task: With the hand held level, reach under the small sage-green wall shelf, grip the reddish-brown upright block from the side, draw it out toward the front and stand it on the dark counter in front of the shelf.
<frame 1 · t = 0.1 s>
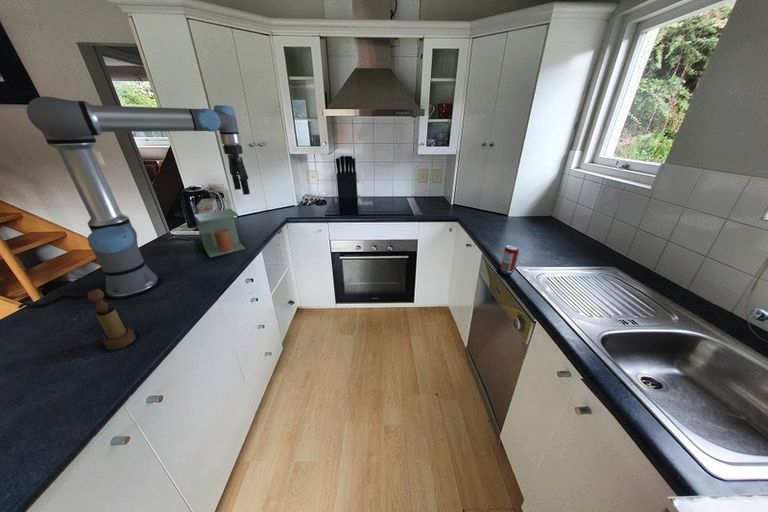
hand: (242, 191, 132), 28 cm above the worktop, tool pointing down, fingers open, 13 cm apart
coffeecake box: (215, 235, 155), on the worktop
reddish-brown upright block: (226, 249, 136), point 1 cm above the worktop, touching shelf
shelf: (225, 250, 137), on the worktop
soda can: (506, 271, 120), on the worktop
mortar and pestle: (121, 342, 80), on the worktop
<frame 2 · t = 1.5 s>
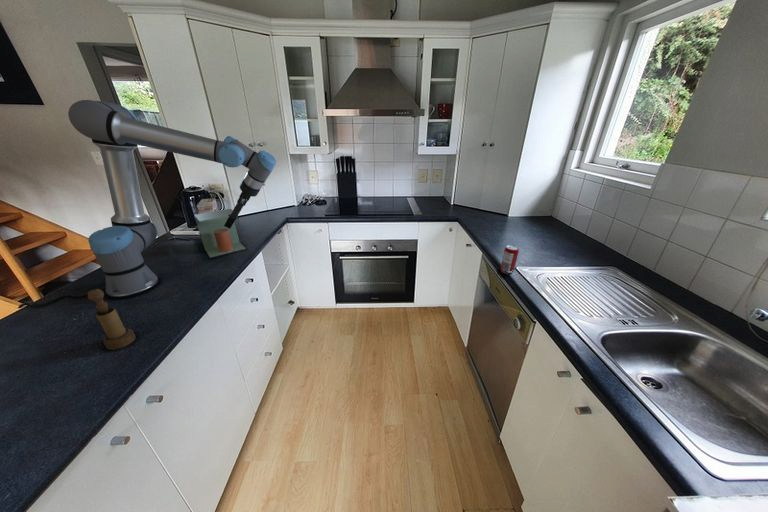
hand: (231, 219, 126), 18 cm above the worktop, tool tilted 40°, fingers open, 13 cm apart
nothing on the worktop moved.
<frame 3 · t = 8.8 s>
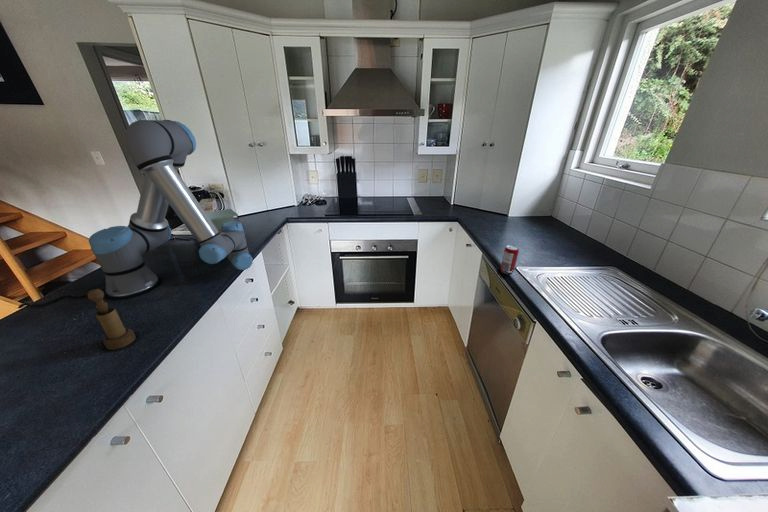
hand: (220, 236, 137), 6 cm above the worktop, tool horizontal, fingers closed on reddish-brown upright block, 6 cm apart
reddish-brown upright block: (226, 249, 136), point 1 cm above the worktop, touching gripper, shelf
everything else where it was.
when the fingers open (6 cm above the worktop, at t = 18.1 s): reddish-brown upright block stays where it is, on the worktop.
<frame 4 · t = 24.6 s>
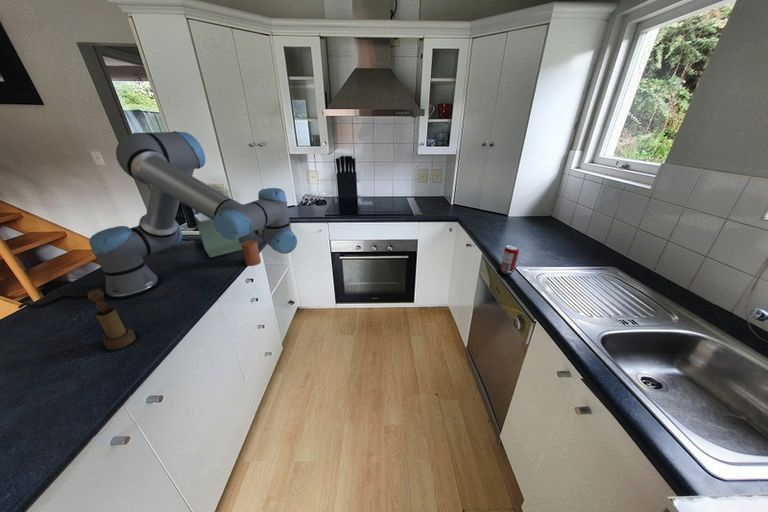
hand: (248, 215, 108), 25 cm above the worktop, tool horizontal, fingers open, 13 cm apart
reddish-brown upright block: (253, 262, 125), on the worktop
everything else where it was.
at the end: reddish-brown upright block inside the target area (0.0 cm from its centre), on the worktop; reddish-brown upright block tilted 0°; the gripper is holding nothing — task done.
